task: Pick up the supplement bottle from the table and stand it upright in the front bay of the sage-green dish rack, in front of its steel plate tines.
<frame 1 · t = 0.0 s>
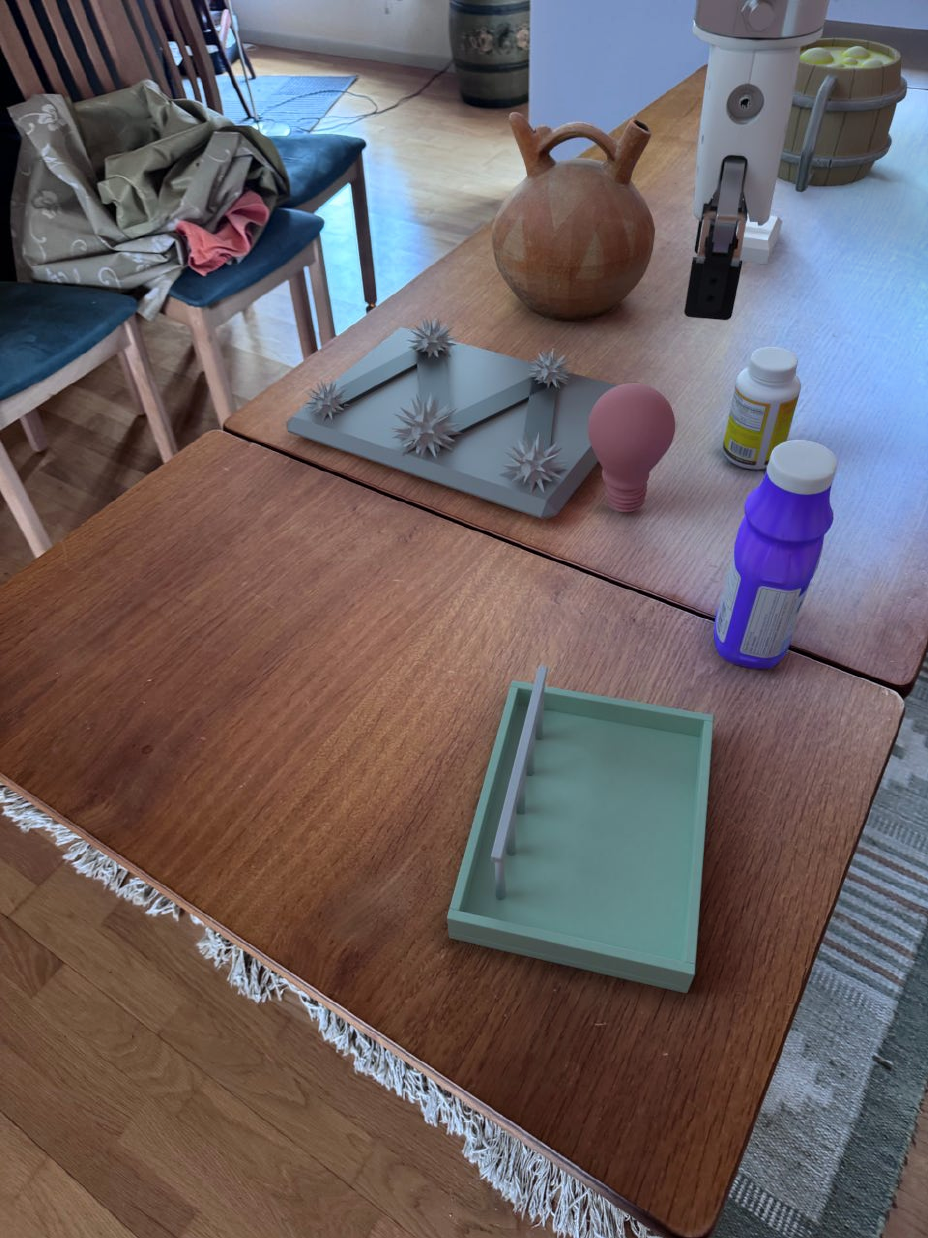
hand: (711, 283, 64), 21 cm above the table, tool pointing down, fingers open, 9 cm apart
light bulb: (621, 507, 79), on the table
dish rack: (588, 830, 57), on the table
bottle: (748, 642, 68), on the table
supplement bottle: (750, 456, 83), on the table
jug: (568, 300, 105), on the table
decorative plate: (465, 425, 89), on the table
white stepped block: (753, 248, 113), on the table
mug: (811, 176, 128), on the table
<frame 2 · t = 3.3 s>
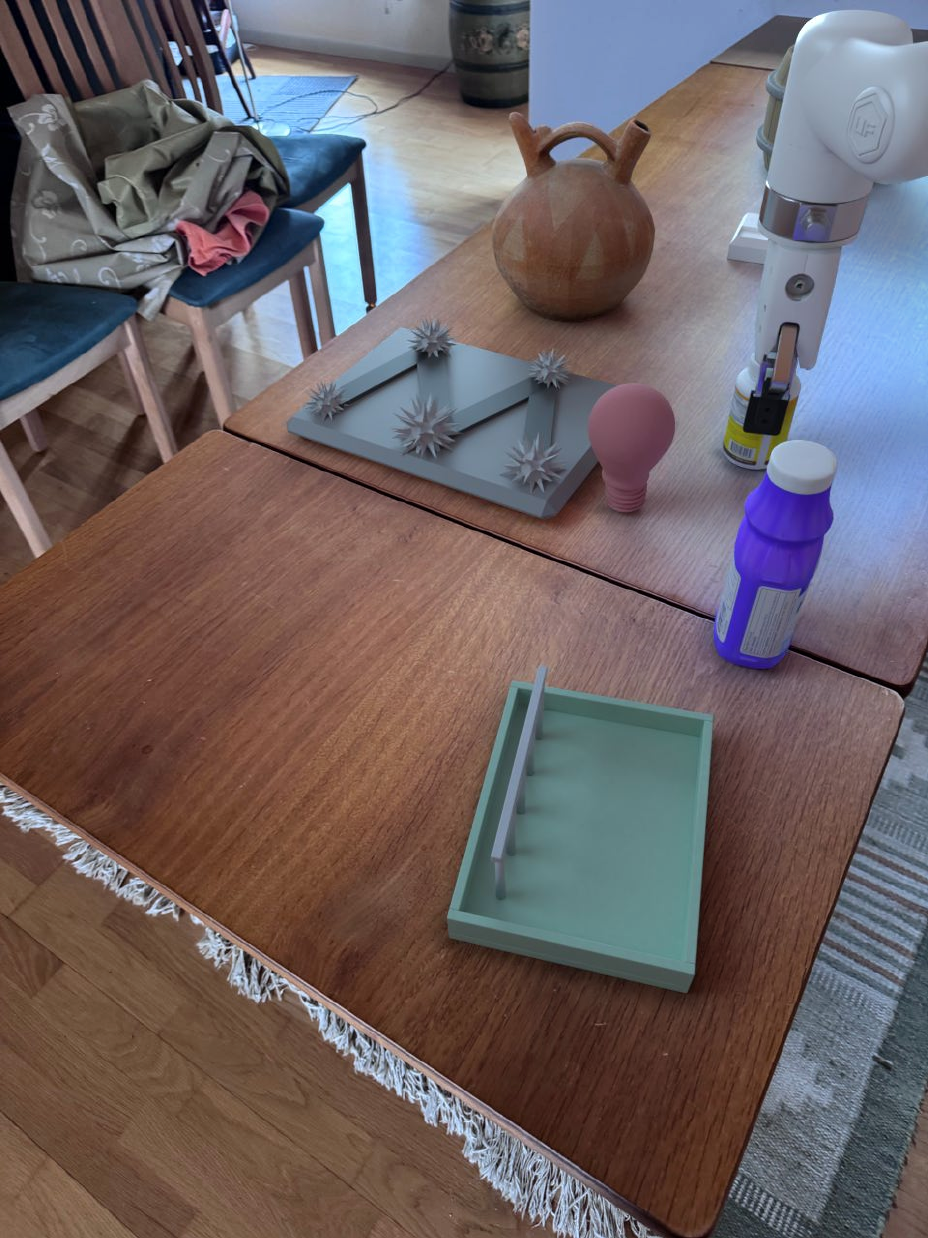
hand: (762, 410, 80), 5 cm above the table, tool pointing down, fingers closed on supplement bottle, 5 cm apart
supplement bottle: (750, 456, 83), on the table, touching gripper
everything else where it was.
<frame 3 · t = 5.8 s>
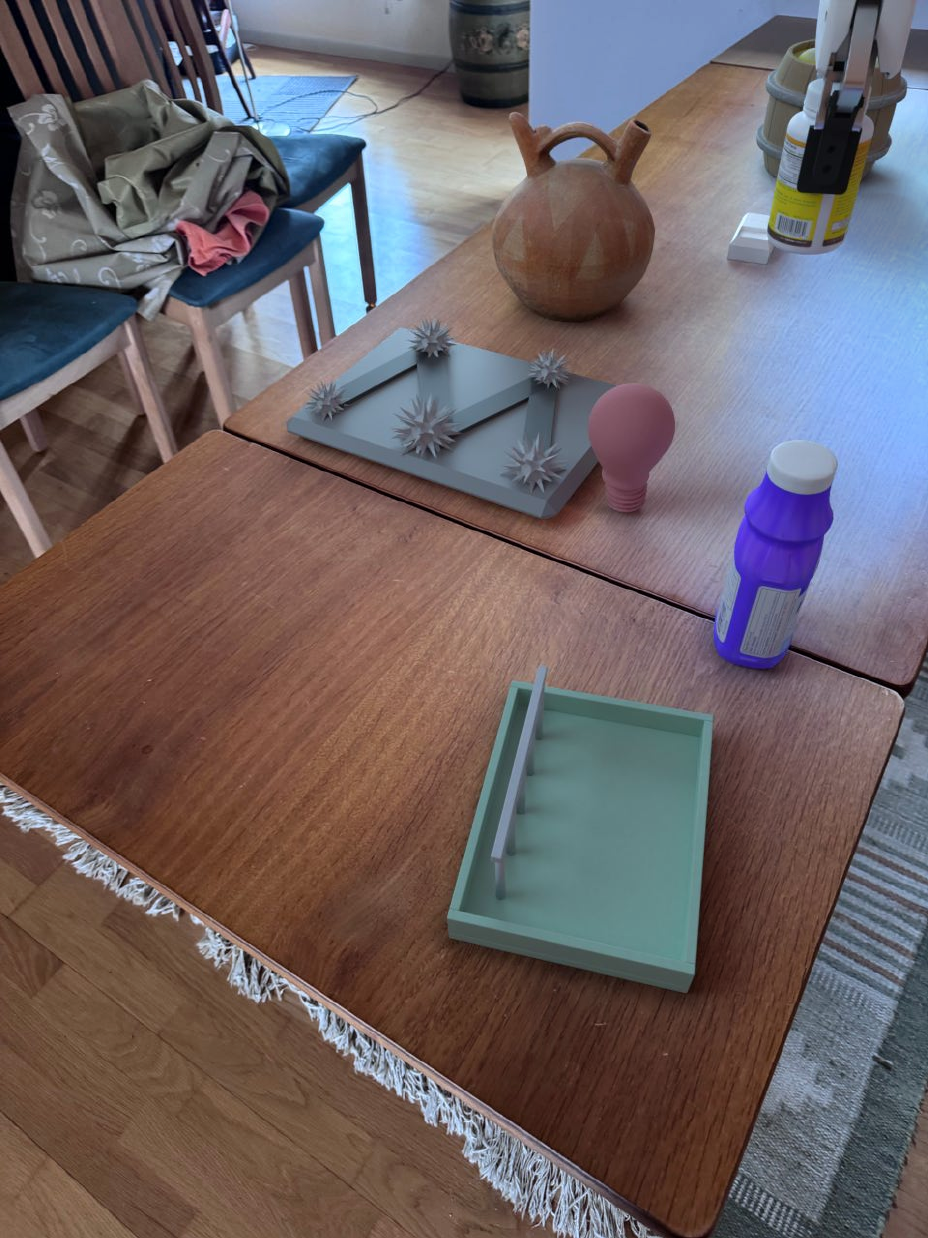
hand: (820, 171, 61), 27 cm above the table, tool pointing down, fingers closed on supplement bottle, 5 cm apart
supplement bottle: (802, 244, 65), point 22 cm above the table, touching gripper
everything else where it was.
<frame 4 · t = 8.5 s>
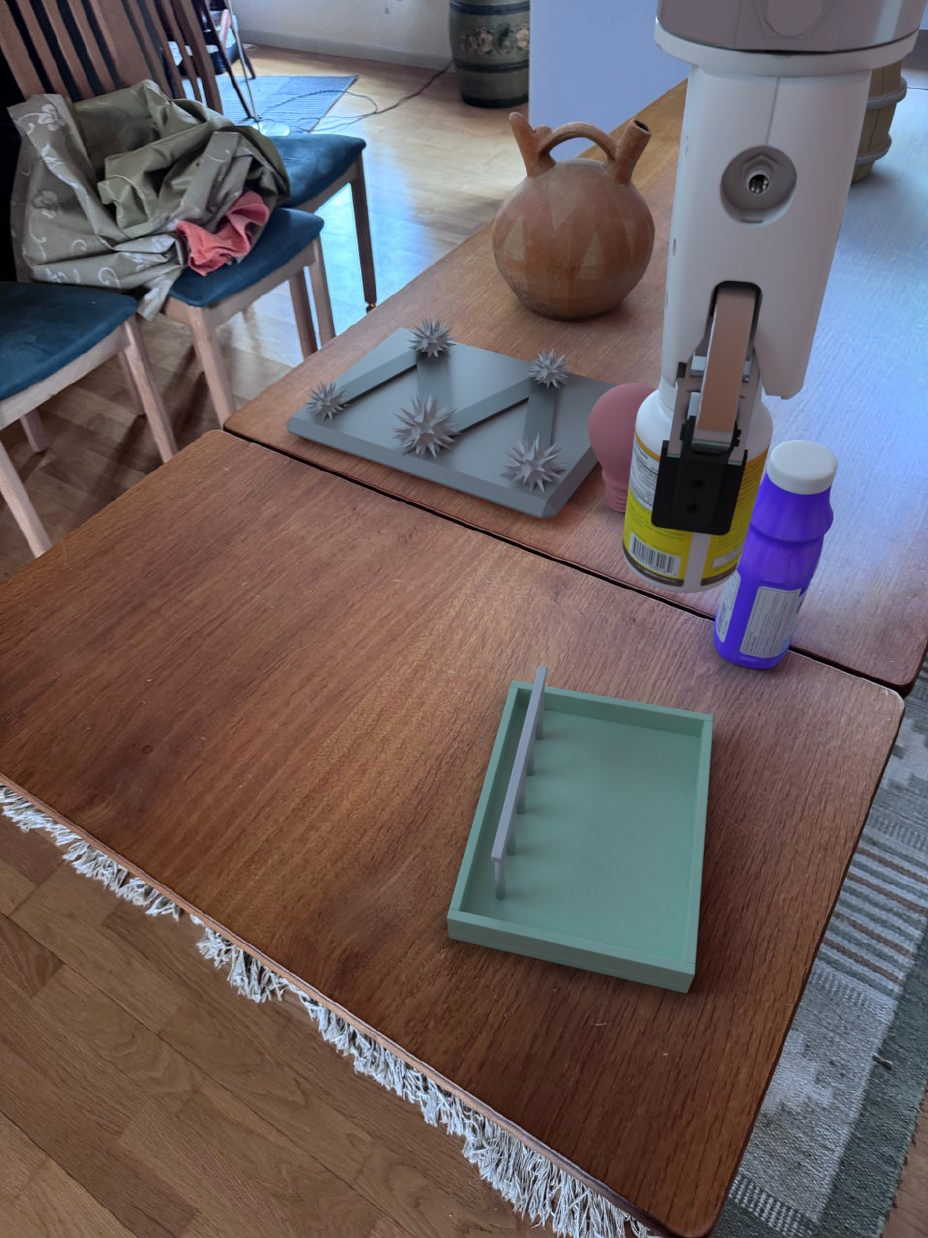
hand: (695, 476, 38), 27 cm above the table, tool pointing down, fingers closed on supplement bottle, 5 cm apart
supplement bottle: (677, 561, 42), point 22 cm above the table, touching gripper
everything else where it was.
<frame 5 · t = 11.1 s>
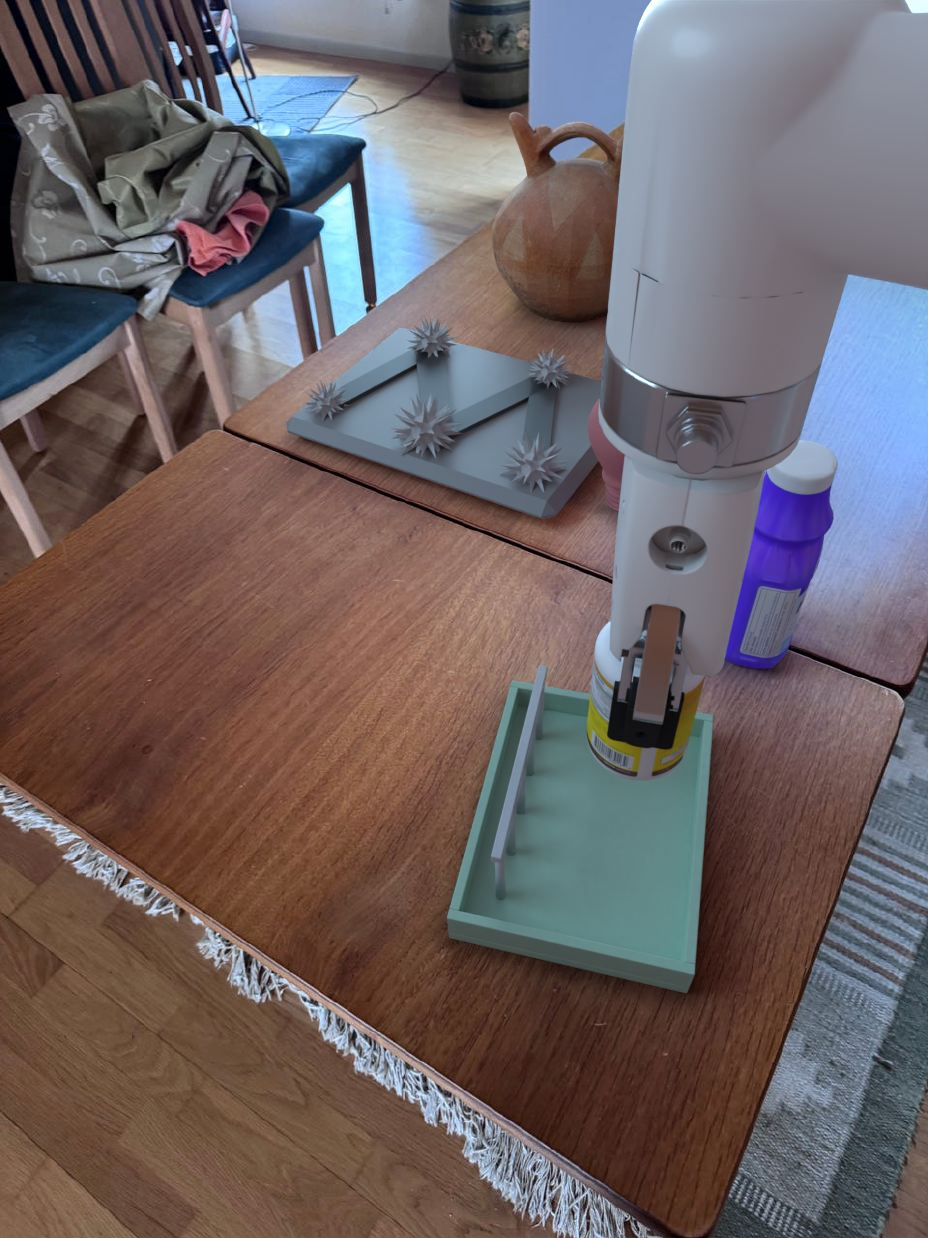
hand: (646, 688, 45), 15 cm above the table, tool pointing down, fingers closed on supplement bottle, 5 cm apart
supplement bottle: (634, 744, 49), point 10 cm above the table, touching gripper
everything else where it was.
when the fingers open (6 cm above the table, at t = 13.7 s): supplement bottle stays where it is, resting on dish rack.
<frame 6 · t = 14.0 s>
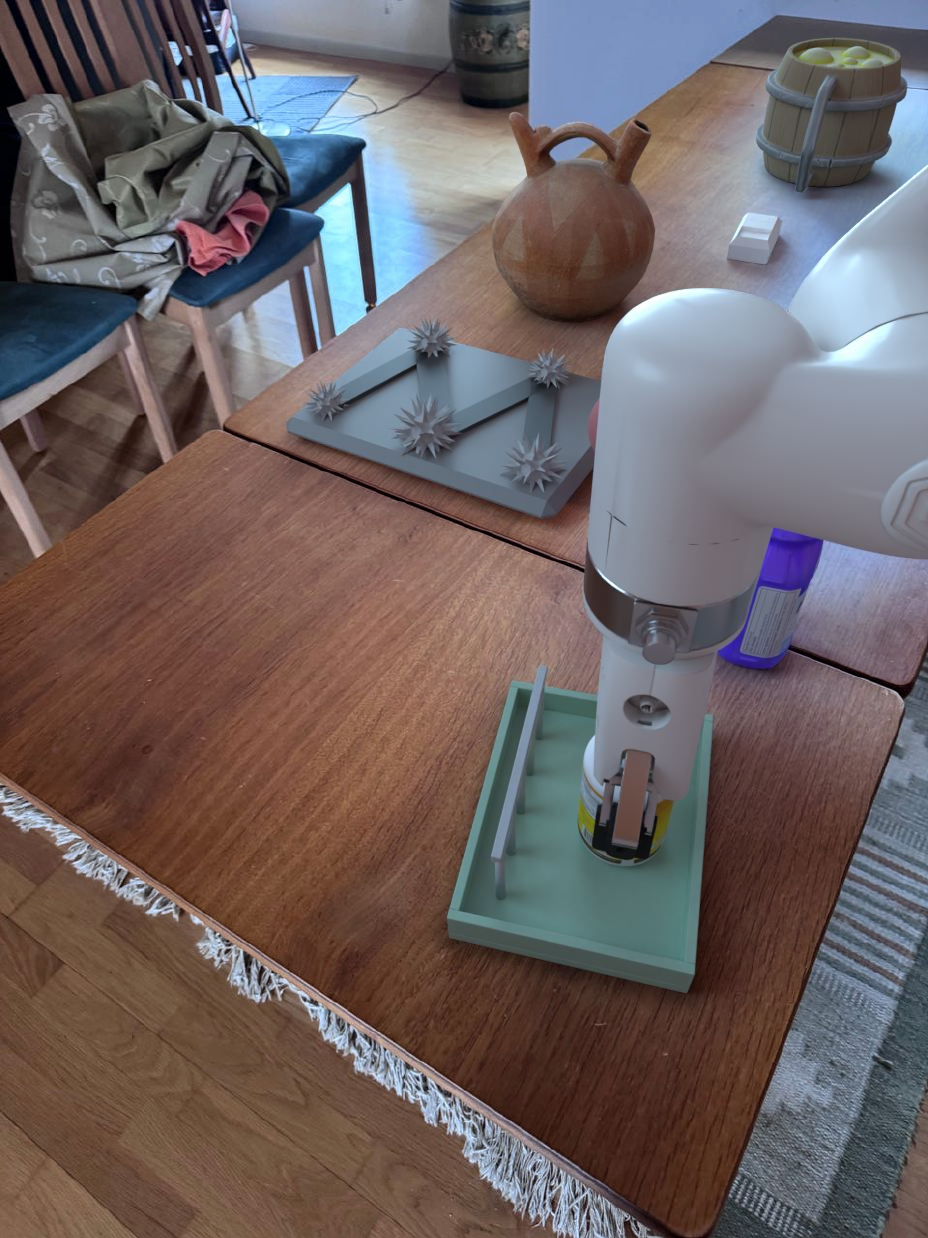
hand: (629, 786, 52), 6 cm above the table, tool pointing down, fingers open, 7 cm apart
supplement bottle: (619, 831, 56), point 1 cm above the table, touching dish rack
everything else where it was.
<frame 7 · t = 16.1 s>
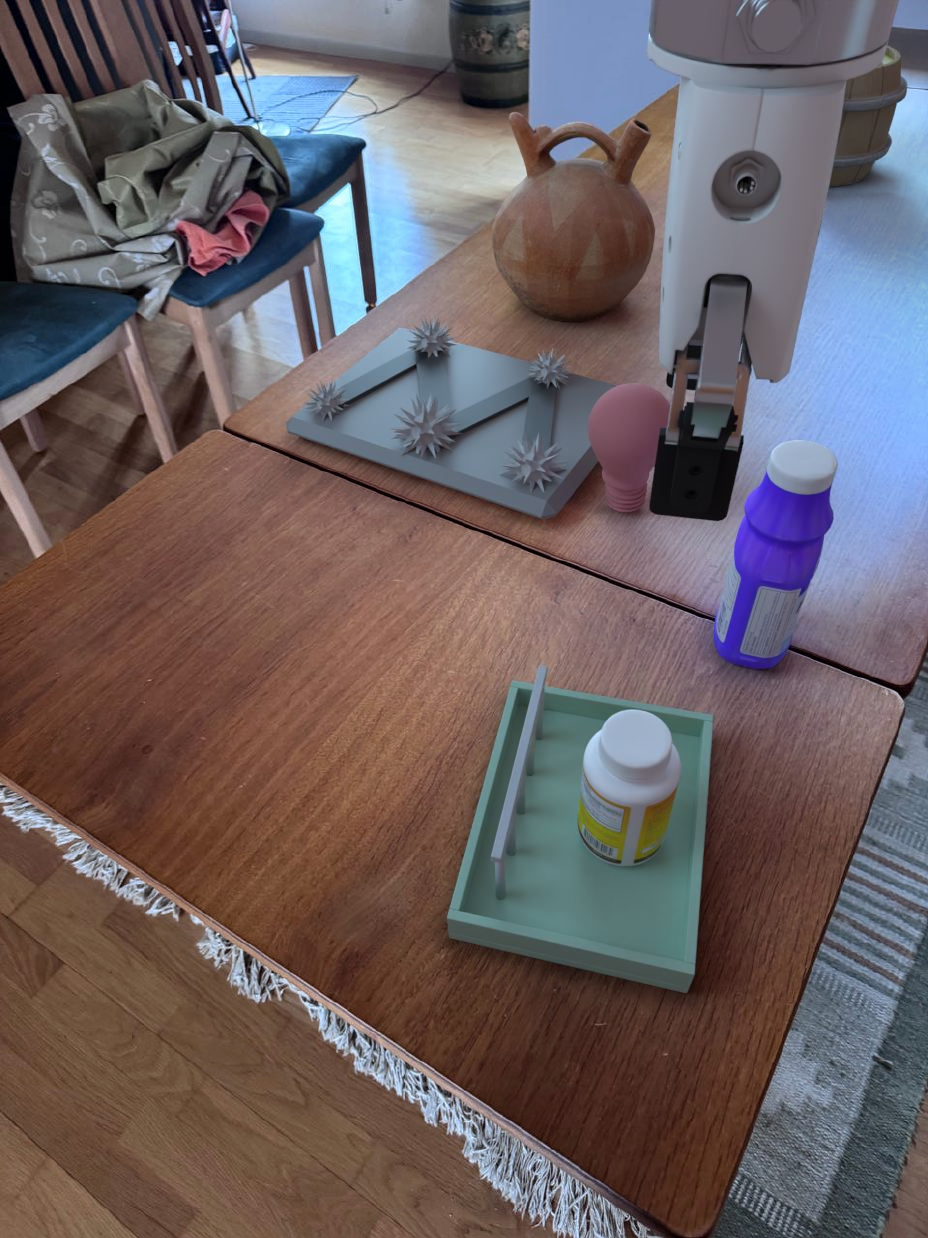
hand: (693, 445, 40), 27 cm above the table, tool pointing down, fingers open, 9 cm apart
nothing on the table moved.
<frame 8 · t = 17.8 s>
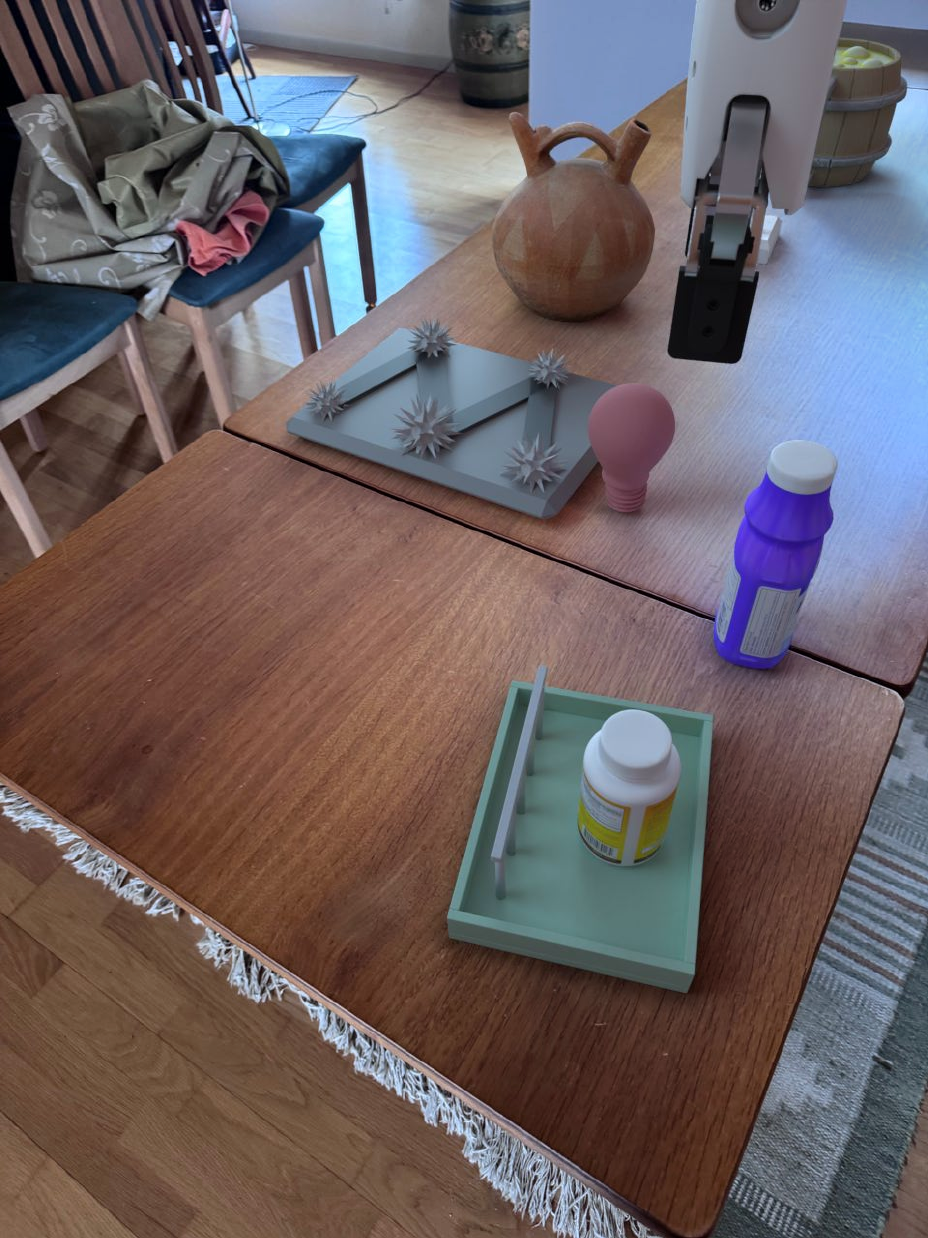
hand: (709, 304, 42), 30 cm above the table, tool pointing down, fingers open, 9 cm apart
nothing on the table moved.
at the end: supplement bottle inside the target area on the dish rack (0.9 cm from its centre), point 0.6 cm above the dish rack's base; supplement bottle tilted 0°; the gripper is holding nothing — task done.
